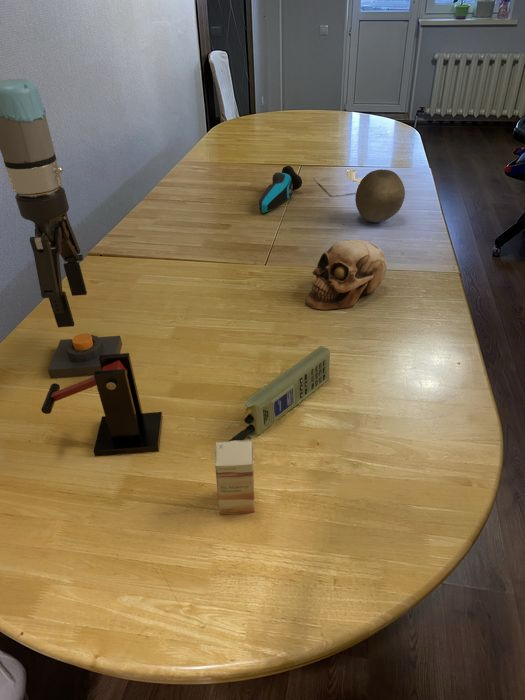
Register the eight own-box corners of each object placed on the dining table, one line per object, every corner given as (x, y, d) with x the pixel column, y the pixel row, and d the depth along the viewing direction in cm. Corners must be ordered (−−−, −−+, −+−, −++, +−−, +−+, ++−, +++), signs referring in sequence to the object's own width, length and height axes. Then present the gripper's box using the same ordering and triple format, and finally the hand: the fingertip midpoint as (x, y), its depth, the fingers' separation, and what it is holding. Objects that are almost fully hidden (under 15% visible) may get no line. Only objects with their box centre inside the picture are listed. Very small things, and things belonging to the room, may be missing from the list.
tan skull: (300, 306, 116) (305, 248, 109) (323, 279, 130) (329, 227, 123) (369, 321, 111) (379, 262, 104) (385, 291, 125) (395, 238, 118)
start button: (72, 352, 98) (70, 344, 97) (76, 341, 101) (74, 333, 100) (91, 350, 98) (89, 343, 97) (95, 340, 101) (93, 332, 100)
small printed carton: (219, 515, 71) (212, 466, 65) (219, 490, 75) (213, 441, 69) (256, 513, 71) (253, 463, 65) (255, 488, 75) (252, 438, 69)
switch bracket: (94, 456, 81) (71, 383, 72) (103, 421, 87) (82, 350, 79) (158, 451, 81) (143, 378, 73) (162, 416, 88) (148, 345, 79)
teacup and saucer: (366, 185, 182) (367, 173, 180) (344, 187, 181) (345, 175, 179) (357, 177, 189) (358, 166, 187) (336, 179, 188) (337, 168, 186)
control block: (50, 379, 97) (44, 362, 95) (63, 348, 106) (58, 332, 103) (114, 374, 98) (110, 357, 96) (122, 344, 106) (118, 328, 104)
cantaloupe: (348, 227, 152) (352, 176, 143) (359, 211, 162) (363, 162, 154) (397, 233, 147) (404, 180, 139) (404, 215, 158) (411, 165, 149)
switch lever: (47, 417, 77) (37, 406, 76) (56, 393, 82) (46, 383, 80) (124, 387, 75) (115, 375, 74) (129, 364, 80) (120, 353, 78)
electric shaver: (280, 187, 182) (306, 191, 179) (245, 218, 166) (273, 224, 162) (279, 162, 177) (306, 166, 173) (243, 193, 160) (272, 197, 156)
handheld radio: (332, 380, 94) (235, 458, 80) (318, 373, 96) (221, 448, 82) (333, 350, 91) (231, 425, 76) (318, 344, 93) (216, 416, 78)
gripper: (44, 214, 73) (81, 343, 86) (78, 167, 91) (104, 278, 104) (-11, 217, 72) (35, 346, 85) (35, 169, 91) (66, 281, 104)
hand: (73, 309), depth 95 cm, fingers open, 10 cm apart
